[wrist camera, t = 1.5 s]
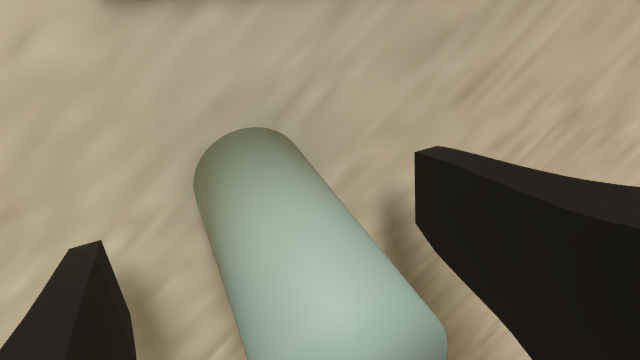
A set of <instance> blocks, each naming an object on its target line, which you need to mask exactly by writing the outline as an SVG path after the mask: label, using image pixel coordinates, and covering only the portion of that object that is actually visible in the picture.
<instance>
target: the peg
mask: <svg viewBox="0 0 640 360" xmlns="http://www.w3.org/2000/svg"><path fill="white" fill-rule="evenodd" d="M194 193H195V197H196V200H197V203H198V206H199V210H200V213H201V216H202V219H203V222H204V225H205V228H206V231H207V234H208V237H209V240H210V243H211V247H212V250H213V253H214V256H215V259H216V262H217V265H218V268H219V271H220V274H221V277H222V281H223V284H224V287H225V290H226V293H227V296H228V299H229V302H230V305H231V308H232V311H233V315H234V318H235V321H236V324H237V327H238V330H239V333H240V336H241V339H242V342H243V345H244V349H245V352H246V355H247V358H248V360H446V358H447V352H448V341H447V335H446V332H445V329H444V327H443V325H442V323H441V322H440V321H439V319H438V318H437V317H436V316H435V314H434V313H433V312H432V311H431V310H430V308H429V307H428V306H427V305H426V304H425V302H424V301H423V300H422V299H421V297H420V296H419V295H418V294H417V293H416V291H415V290H414V289H413V288H412V287H411V285H410V284H409V283H408V282H407V280H406V279H405V278H404V277H403V276H402V274H401V273H400V272H399V271H398V270H397V268H396V267H395V266H394V265H393V263H392V262H391V261H390V260H389V259H388V257H387V256H386V255H385V254H384V253H383V251H382V250H381V249H380V248H379V246H378V245H377V244H376V243H375V242H374V240H373V239H372V238H371V237H370V235H369V234H368V233H367V232H366V231H365V229H364V228H363V227H362V226H361V225H360V223H359V222H358V221H357V220H356V218H355V217H354V216H353V215H352V214H351V212H350V211H349V210H348V209H347V208H346V206H345V205H344V204H343V203H342V201H341V200H340V199H339V198H338V197H337V195H336V194H335V193H334V192H333V191H332V189H331V188H330V187H329V186H328V184H327V183H326V182H325V181H324V180H323V178H322V177H321V176H320V175H319V174H318V172H317V171H316V170H315V169H314V167H313V166H312V165H311V164H310V163H309V161H308V160H307V159H306V158H305V157H304V155H303V154H302V153H301V152H300V150H299V149H298V148H297V147H296V146H295V144H294V143H293V142H292V141H291V140H290V139H289V138H287V137H286V136H284V135H283V134H281V133H279V132H277V131H274V130H271V129H267V128H258V127H252V128H244V129H240V130H236V131H234V132H231V133H229V134H227V135H225V136H223V137H222V138H220V139H218V140H217V141H216V142H215V143H213V144H212V145H211V146H210V147H209V148H208V149H207V150H206V152H205V153H204V155H203V156H202V158H201V159H200V161H199V163H198V166H197V168H196V171H195V176H194Z"/></svg>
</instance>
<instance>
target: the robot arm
mask: <svg viewBox="0 0 640 360" xmlns="http://www.w3.org/2000/svg"><path fill="white" fill-rule="evenodd" d="M415 223H416V224H417V226H418V227H419V229H420V230H421V232H422V233H423V235H424V236H425V238H426V239H427V241H428V242H429V243H430V245H431V246H432V247H433V249H434V250H435V251H436V253H437V254H438V255H439V256H440V257H441V258H442V259H443V261H444V262H445V263H446V264H447V265H448V266H449V267H450V268H451V269H452V270H453V271H454V272H455V273H456V274H457V275H458V276H459V277H460V279H461V280H462V281H463V282H464V283H465V284H466V285H467V286H468V287H469V288H470V289H471V290H472V291H473V292H474V293H475V294H476V295H477V296H478V297H479V298H480V299H481V300H482V301H483V302H484V303H485V304H486V305H487V306H488V308H489V309H490V310H491V311H492V312H493V313H494V314H495V315H496V316H497V317H498V318H499V319H500V320H501V321H502V323H503V324H504V325H505V326H506V327H507V328H508V329H509V330H510V332H511V333H512V334H513V335H514V337H515V338H516V339H517V341H518V342H519V343H520V344H521V346H522V347H523V348H524V350H525V351H526V352H527V354H528V355H529V356H530V357H531V359H532V360H640V187H634V186H625V185H617V184H610V183H603V182H596V181H589V180H583V179H578V178H572V177H567V176H562V175H558V174H553V173H548V172H544V171H539V170H535V169H531V168H527V167H523V166H519V165H515V164H511V163H507V162H503V161H499V160H495V159H492V158H488V157H484V156H480V155H477V154H473V153H469V152H465V151H461V150H456V149H452V148H447V147H440V146H435V147H432V148H428V149H425V150H421V151H417V152H415ZM0 360H136V350H135V343H134V336H133V329H132V323H131V316H130V313H129V310H128V307H127V305H126V302H125V300H124V297H123V295H122V292H121V290H120V287H119V285H118V282H117V279H116V277H115V274H114V272H113V269H112V267H111V264H110V262H109V259H108V257H107V254H106V252H105V249H104V246H103V244H102V241H101V240H99V241H96V242H92V243H89V244H85V245H82V246H78V247H74V248H71V249H69V250H68V252H67V253H66V255H65V256H64V258H63V259H62V261H61V262H60V264H59V265H58V267H57V268H56V270H55V271H54V273H53V275H52V276H51V278H50V279H49V281H48V282H47V284H46V286H45V287H44V289H43V290H42V292H41V293H40V295H39V296H38V298H37V299H36V301H35V302H34V304H33V305H32V307H31V308H30V310H29V311H28V313H27V314H26V316H25V317H24V319H23V320H22V321H21V323H20V324H19V325H18V327H17V328H16V329H15V331H14V332H13V333H12V335H11V336H10V337H9V339H8V340H7V341H6V343H5V344H4V345H3V346H2V348H1V349H0Z"/></svg>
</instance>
